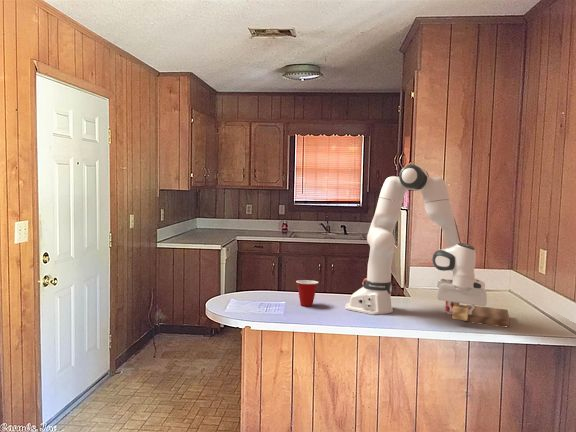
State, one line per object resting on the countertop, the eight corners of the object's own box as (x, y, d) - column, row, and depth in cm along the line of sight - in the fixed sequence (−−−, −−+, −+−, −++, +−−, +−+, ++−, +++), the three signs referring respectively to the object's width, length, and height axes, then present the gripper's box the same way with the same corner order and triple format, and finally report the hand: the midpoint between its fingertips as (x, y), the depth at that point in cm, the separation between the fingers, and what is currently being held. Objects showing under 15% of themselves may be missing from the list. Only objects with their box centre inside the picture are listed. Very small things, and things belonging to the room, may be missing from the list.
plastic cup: (318, 302, 241) (318, 279, 240) (317, 308, 231) (318, 283, 230) (296, 301, 242) (297, 277, 241) (294, 307, 232) (295, 282, 231)
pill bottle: (443, 311, 232) (444, 288, 231) (455, 311, 233) (456, 288, 232) (448, 315, 226) (449, 291, 225) (461, 315, 226) (462, 292, 226)
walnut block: (464, 323, 216) (464, 314, 216) (465, 313, 233) (466, 304, 232) (508, 329, 209) (509, 319, 209) (507, 318, 226) (507, 309, 226)
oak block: (452, 318, 209) (453, 307, 209) (453, 315, 215) (454, 303, 214) (467, 320, 207) (467, 309, 207) (467, 317, 212) (468, 306, 212)
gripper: (437, 279, 211) (434, 310, 212) (488, 286, 203) (485, 318, 204) (438, 277, 217) (436, 307, 218) (488, 283, 209) (485, 314, 210)
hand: (460, 312), depth 211 cm, fingers closed on oak block, 6 cm apart
